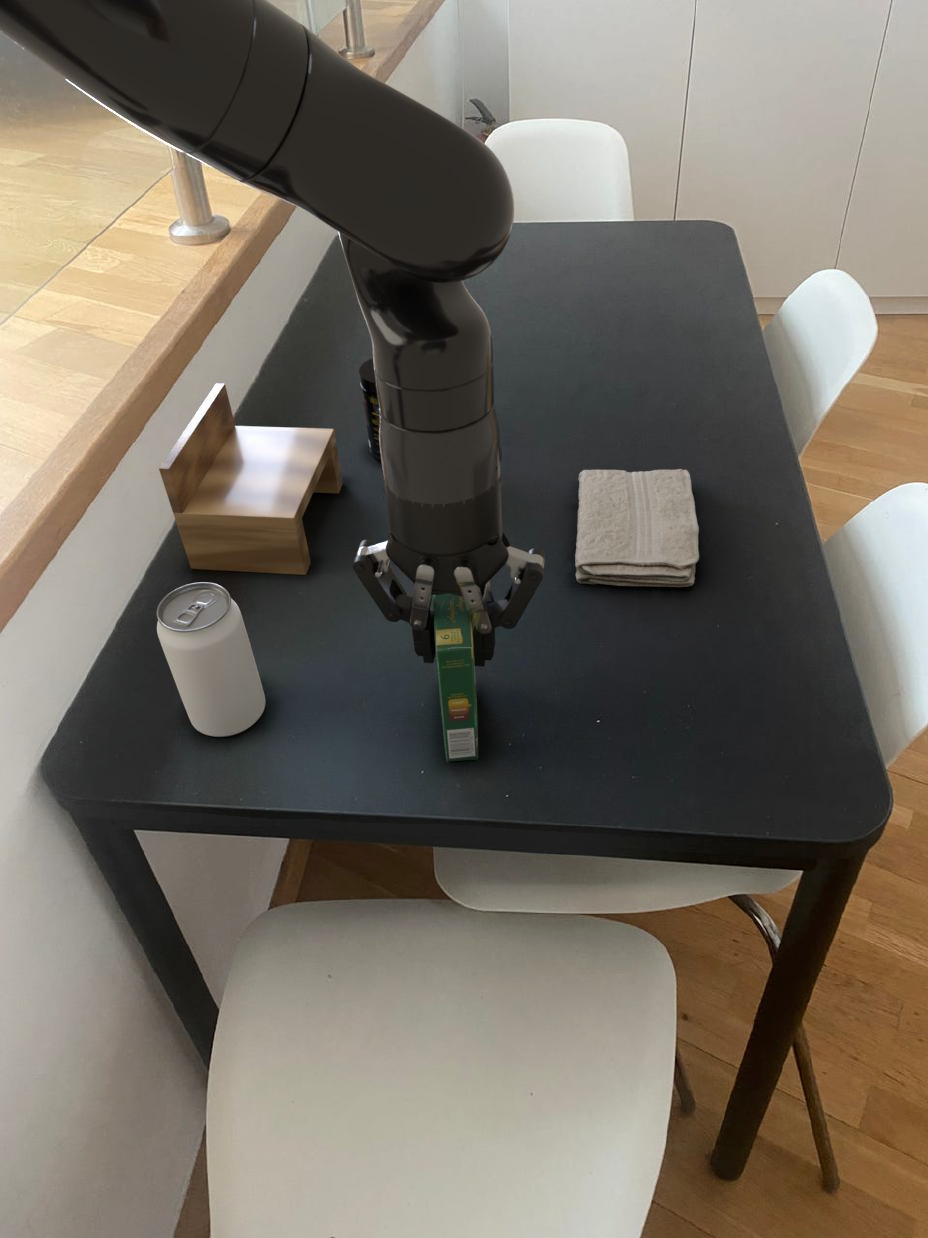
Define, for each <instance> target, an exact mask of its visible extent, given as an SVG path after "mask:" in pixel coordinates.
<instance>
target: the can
mask: <svg viewBox="0 0 928 1238" xmlns="http://www.w3.org/2000/svg"><path fill="white" fill-rule="evenodd" d="M156 618H157V623H156V632H157V637H158V641H159V643H160V646H161V648H162V651H163V654H164V657H165V659H166V662H167V664H168V667H169V669H170V672H171V675H172V678H173V680H174V683H175V686H176V688H177V691H178V693H179V696H180V699H181V701H182V703H183V706H184V709H185V711H186V714H187V717H188V719H189V721H190V723H191V725H192V726H193V728H194V729H195V730H196V731H197V732H200V733H201V734H203V735H205V736H210V737H215V738H226V737H232V736H235V735H236V736H237V735H238V734H241V733H243V732H245V731H246V730H248V729H250V728H251V727H252V726H253V725H255V724H256V722H257V721H259V719H260V718H261V717H262V715H263V714H264V711H265V707H266V695H265V692H264V687H263V684H262V680H261V677H260V673H259V669H258V666H257V663H256V660H255V656H254V653H253V652H254V651H253V649H252V646H251V642H250V639H249V636H248V632H247V629H246V626H245V621H244V618H243V615H242V612H241V609H240V607H239V606H238V604H237V603H236V601H235V600H233V598H232V597H231V594H230V592H229V591H228V590H227V589H226V588H225V587H223V586H221V585H219V584H217V583H214V582H206V581H205V582H204V581H203V582H202V581H201V582H193V583H188V584H185V585H182V586H179V587H177V588H175V589H174V590H172V591H171V592H169V593H167V594H166V595H165V596H164V597H163V598H162V600H160V602H159V604H158V605H157V609H156Z"/></svg>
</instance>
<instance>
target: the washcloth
mask: <svg viewBox="0 0 928 1238" xmlns="http://www.w3.org/2000/svg"><path fill="white" fill-rule="evenodd" d="M577 480H578V482H579V484H578V486H579V487H578V491H577V493H578V500H579V501H578V509H577V524H576V528H577V533H576V538H575V539H576V542H575V545H576V546H575V547H576V549H575V554H574V558H575V560H574V562H575V563H574V564H575V568H576V572H575V578H576V582H577V583H578V584H582V585H583V584H587V585H598V584H599V585H606V586H607V585H609V586H617V587H653V588H655V587H658V588H661V587H663V588H683V587H684V588H685V587H692V586H694V584H695V581H696V577H695V575H696V564H697V563H698V562H699V560H700V551H699V532H700V527H699V523H698V518H697V513H696V505H695V504H696V502H695V497H694V495H693V489H692V479H691V474H690V472H689V471H688V469H682V468H678V469H665V468H664V469H654V470H650V471H649V470H646V471H641V470H640V471H631V472H630V471H629V472H628V471H627V470H624V469H622V470H621V469H583V470H582V471H580V472H579V474H578V478H577Z"/></svg>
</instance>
